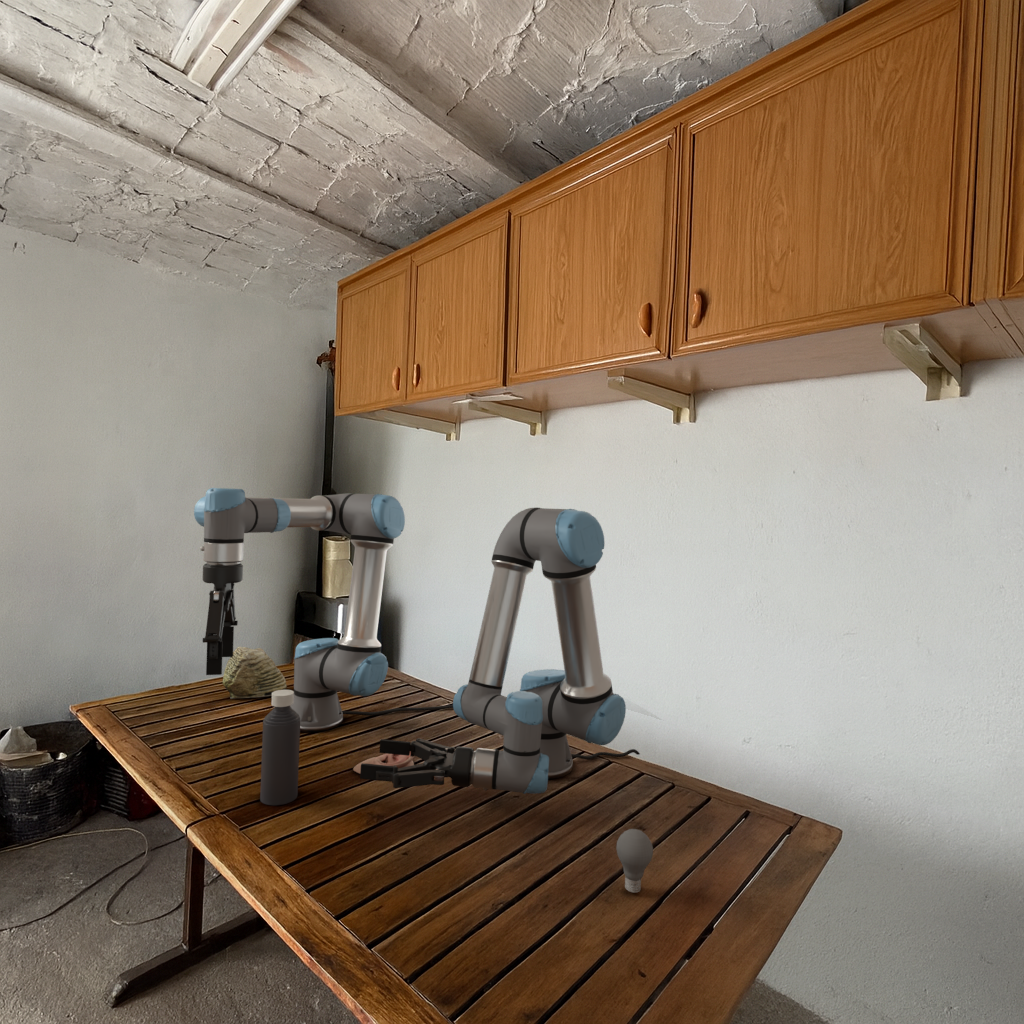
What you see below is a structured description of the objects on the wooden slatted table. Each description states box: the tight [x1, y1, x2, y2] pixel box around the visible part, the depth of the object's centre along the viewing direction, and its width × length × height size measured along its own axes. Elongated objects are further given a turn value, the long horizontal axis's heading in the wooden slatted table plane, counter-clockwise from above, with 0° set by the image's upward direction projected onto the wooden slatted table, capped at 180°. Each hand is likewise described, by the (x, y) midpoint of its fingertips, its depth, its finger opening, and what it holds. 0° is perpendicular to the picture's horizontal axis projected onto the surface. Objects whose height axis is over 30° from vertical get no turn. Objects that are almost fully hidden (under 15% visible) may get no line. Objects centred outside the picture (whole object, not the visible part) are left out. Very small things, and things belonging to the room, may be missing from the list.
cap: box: [270, 689, 294, 707], centre depth 132 cm, size 4×4×2 cm
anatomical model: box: [352, 751, 415, 775], centre depth 149 cm, size 13×4×12 cm
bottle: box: [259, 706, 301, 806], centre depth 133 cm, size 7×7×22 cm
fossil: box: [222, 646, 288, 699], centre depth 198 cm, size 9×18×15 cm, turn 132°
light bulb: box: [615, 828, 654, 894], centre depth 106 cm, size 6×6×10 cm
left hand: (220, 665), depth 131 cm, fingers open, 13 cm apart
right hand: (370, 757), depth 131 cm, fingers open, 13 cm apart
